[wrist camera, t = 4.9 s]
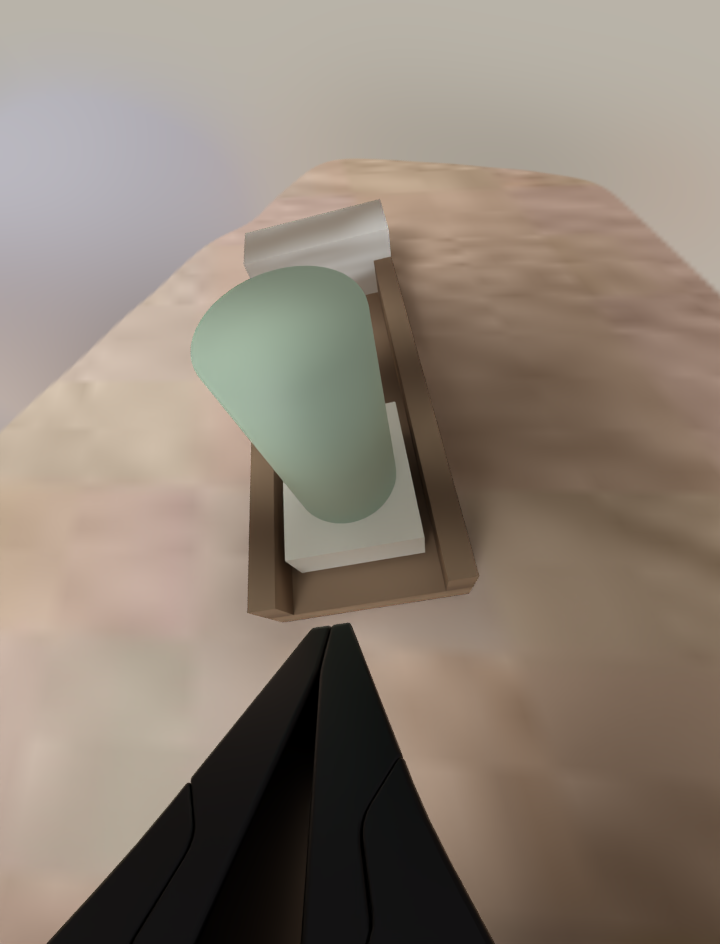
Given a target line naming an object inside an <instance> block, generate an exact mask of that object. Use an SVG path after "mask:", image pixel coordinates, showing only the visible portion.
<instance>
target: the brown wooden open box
mask: <svg viewBox="0 0 720 944" xmlns="http://www.w3.org/2000/svg"><path fill="white" fill-rule="evenodd" d="M244 266H245V269H246V271H247V273H248V275H249V277H250V279H251V278H253V277H255V276H257V275H260V274H263V273H265V272H269V271H272V270H276V269H280V268H285V267H292V266H319V267H325V268H329V269H333V270H336V271H338V272H341V273H343V274H345V275H347V276H348V277H350V278H351V279H352V280H354V281H355V282H356V283H357V284H358V285H359V286H360V288H361V289H362V290H363V292H364V294H365V296H366V298H367V301H368V305H369V311H370V317H371V322H372V328H373V334H374V340H375V346H376V352H377V358H378V364H379V370H380V376H381V382H382V388H383V394H384V400H385V404H386V403H390V402H395V403H396V408H397V412H398V417H399V421H400V426H401V431H402V435H403V440H404V445H405V449H406V454H407V459H408V463H409V468H410V472H411V477H412V482H413V486H414V491H415V496H416V500H417V505H418V510H419V514H420V519H421V523H422V528H423V533H424V538H425V553H419V554H413V555H407V556H401V557H395V558H389V559H383V560H377V561H371V562H365V563H359V564H353V565H347V566H341V567H335V568H329V569H323V570H317V571H311V572H305V573H301V572H300V571H299V570H297V569H296V568H294V567H293V566H291V565H290V564H288V563H287V562H286V561H285V541H284V500H283V480H282V479H281V478H280V477H279V475H278V474H277V473H276V472H275V471H274V469H273V468H272V467H271V466H270V464H269V463H268V462H267V461H266V459H265V458H264V457H263V456H262V454H261V453H260V452H259V451H258V450H257V448H256V447H255V446H254V445H253V443H252V442H251V482H250V524H249V566H248V608H247V613H250V614H253V615H257V616H261V617H265V618H268V619H272V620H276V621H280V622H288V621H294V620H301V619H307V618H313V617H320V616H326V615H333V614H339V613H346V612H352V611H359V610H365V609H372V608H378V607H384V606H391V605H397V604H404V603H410V602H417V601H423V600H430V599H436V598H443V597H449V596H455V595H462V594H468V593H469V592H470V591H471V589H472V587H473V586H474V584H475V582H476V581H477V579H478V577H479V573H478V570H477V566H476V563H475V559H474V555H473V552H472V548H471V544H470V541H469V537H468V534H467V530H466V526H465V523H464V519H463V515H462V512H461V508H460V505H459V501H458V497H457V494H456V490H455V486H454V483H453V479H452V475H451V472H450V468H449V465H448V461H447V457H446V454H445V450H444V446H443V443H442V439H441V436H440V432H439V428H438V425H437V421H436V417H435V414H434V410H433V407H432V403H431V399H430V396H429V392H428V388H427V385H426V381H425V378H424V374H423V370H422V367H421V363H420V359H419V356H418V352H417V349H416V345H415V341H414V338H413V334H412V330H411V327H410V323H409V320H408V316H407V312H406V309H405V305H404V301H403V298H402V294H401V291H400V287H399V283H398V280H397V276H396V272H395V269H394V265H393V262H392V258H391V250H390V239H389V229H388V225H387V222H386V218H385V215H384V211H383V208H382V204H381V201H380V199H379V200H375V201H371V202H367V203H363V204H359V205H355V206H351V207H347V208H343V209H339V210H335V211H332V212H328V213H324V214H320V215H316V216H312V217H308V218H304V219H300V220H296V221H292V222H288V223H285V224H281V225H277V226H273V227H269V228H265V229H261V230H257V231H253V232H249V233H245V246H244Z"/></svg>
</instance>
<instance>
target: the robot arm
mask: <svg viewBox="0 0 720 944" xmlns="http://www.w3.org/2000/svg"><path fill="white" fill-rule="evenodd" d="M47 944H495V943H494V941H493V939H492V937H491V935H490V934H489V932H488V930H487V928H486V926H485V924H484V922H483V921H482V919H481V917H480V915H479V913H478V911H477V910H476V908H475V906H474V904H473V902H472V900H471V898H470V897H469V895H468V893H467V891H466V889H465V887H464V885H463V884H462V882H461V880H460V878H459V876H458V874H457V873H456V871H455V869H454V867H453V865H452V863H451V861H450V859H449V857H448V855H447V853H446V851H445V849H444V847H443V846H442V844H441V842H440V840H439V838H438V836H437V834H436V832H435V830H434V828H433V826H432V824H431V822H430V820H429V818H428V815H427V813H426V811H425V808H424V806H423V804H422V801H421V799H420V797H419V794H418V792H417V790H416V788H415V785H414V783H413V780H412V778H411V775H410V773H409V770H408V768H407V765H406V762H405V760H404V759H403V756H402V753H401V750H400V748H399V745H398V743H397V740H396V738H395V735H394V732H393V730H392V727H391V725H390V722H389V720H388V717H387V715H386V712H385V709H384V707H383V704H382V702H381V699H380V697H379V694H378V692H377V689H376V687H375V684H374V681H373V679H372V676H371V674H370V671H369V669H368V666H367V664H366V661H365V658H364V656H363V653H362V651H361V648H360V646H359V643H358V641H357V638H356V635H355V633H354V630H353V628H352V625H351V624H350V623H343V624H336V625H333V626H332V627H330V626H323V627H316V628H313V629H312V630H310V632H309V633H308V634H307V635H306V637H305V638H304V639H303V640H302V641H301V643H300V644H299V645H298V646H297V648H296V649H295V650H294V651H293V653H292V654H291V655H290V656H289V658H288V659H287V660H286V661H285V663H284V664H283V665H282V666H281V667H280V669H279V670H278V671H277V672H276V674H275V675H274V676H273V677H272V679H271V680H270V681H269V682H268V684H267V685H266V686H265V687H264V688H263V690H262V691H261V692H260V693H259V695H258V696H257V697H256V698H255V700H254V701H253V702H252V703H251V705H250V706H249V707H248V708H247V709H246V711H245V712H244V713H243V714H242V716H241V717H240V718H239V719H238V721H237V722H236V723H235V724H234V726H233V727H232V728H231V729H230V730H229V732H228V733H227V734H226V735H225V737H224V738H223V739H222V740H221V742H220V743H219V744H218V745H217V747H216V748H215V749H214V750H213V752H212V753H211V754H210V755H209V756H208V758H207V759H206V760H205V761H204V763H203V764H202V765H201V766H200V768H199V769H198V770H197V771H196V773H195V774H194V775H193V776H192V778H191V783H187V784H186V785H185V786H184V787H183V788H182V790H181V791H180V792H179V793H178V795H177V796H176V797H175V798H174V799H173V801H172V802H171V803H170V804H169V806H168V807H167V808H166V809H165V810H164V812H163V813H162V814H161V815H160V816H159V818H158V819H157V820H156V821H155V822H154V824H153V825H152V826H151V827H150V828H149V830H148V831H147V832H146V833H145V834H144V835H143V837H142V838H141V839H140V840H139V841H138V843H137V844H136V845H135V846H134V847H133V848H132V850H131V851H130V852H129V853H128V854H127V855H126V856H125V857H124V859H123V860H122V861H121V862H120V863H119V864H118V865H117V866H116V868H115V869H114V870H113V871H112V872H111V873H110V874H109V875H108V877H107V878H106V879H105V880H104V881H103V882H102V883H101V884H100V885H99V887H98V888H97V889H96V890H95V891H94V892H93V893H92V894H91V895H90V897H89V898H88V899H87V900H86V901H85V902H84V903H83V904H82V905H81V906H80V907H79V909H78V910H77V911H76V912H75V913H74V914H73V915H72V916H71V917H70V918H69V920H68V921H67V922H66V923H65V924H64V925H63V926H62V927H61V928H60V929H59V930H58V932H57V933H56V934H55V935H54V936H53V937H52V938H51V939H50V940H49V941H48V942H47Z"/></svg>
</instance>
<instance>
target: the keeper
mask: <svg viewBox="0 0 720 944" xmlns="http://www.w3.org/2000/svg"><path fill="white" fill-rule="evenodd" d="M191 360H192V364H193V367H194V370H195V371H196V373H197V375H198V377H199V378H200V379H201V380H202V382H203V383H204V384H205V385H206V386H207V388H208V389H209V390H210V391H211V393H212V394H213V395H214V396H215V398H216V399H217V400H218V401H219V403H220V404H221V405H222V406H223V408H224V409H225V410H226V411H227V412H228V414H229V415H230V416H231V417H232V419H233V420H234V421H235V422H236V424H237V425H238V426H239V427H240V429H241V430H242V431H243V432H244V433H245V435H246V436H247V437H248V438H249V440H250V441H251V442H252V443H253V445H254V446H255V447H256V448H257V450H258V451H259V452H260V453H261V454H262V456H263V457H264V458H265V459H266V461H267V462H268V463H269V464H270V466H271V467H272V468H273V469H274V471H275V472H276V473H277V474H278V475H279V477H280V478H281V479H282V480H283V500H284V541H285V561H286V562H287V563H288V564H290V565H291V566H293V567H294V568H296V569H297V570H299V571H300V572H301V573H305V572H311V571H317V570H323V569H329V568H335V567H341V566H347V565H353V564H359V563H365V562H371V561H377V560H383V559H389V558H395V557H401V556H407V555H413V554H419V553H425V538H424V533H423V528H422V523H421V519H420V514H419V510H418V505H417V500H416V496H415V491H414V486H413V482H412V477H411V472H410V468H409V463H408V459H407V454H406V449H405V445H404V440H403V435H402V431H401V426H400V421H399V417H398V412H397V408H396V403H395V402H390V403H386V404H385V400H384V394H383V388H382V382H381V376H380V370H379V364H378V358H377V352H376V346H375V340H374V334H373V328H372V322H371V317H370V311H369V305H368V301H367V298H366V296H365V294H364V292H363V290H362V289H361V288H360V286H359V285H358V284H357V283H356V282H355V281H354V280H352V279H351V278H350V277H348V276H347V275H345V274H343V273H341V272H338V271H336V270H333V269H329V268H325V267H319V266H292V267H285V268H280V269H276V270H272V271H269V272H265V273H263V274H260V275H257V276H255V277H253V278H251V279H248V280H246V281H244V282H243V283H241V284H239V285H237V286H236V287H234V288H233V289H231V290H230V291H228V292H227V293H226V294H224V295H223V296H222V297H221V298H220V299H218V300H217V301H216V302H215V303H214V304H213V305H212V306H211V307H210V309H209V310H208V311H207V312H206V313H205V315H204V316H203V318H202V319H201V320H200V322H199V324H198V326H197V328H196V330H195V333H194V335H193V339H192V343H191Z"/></svg>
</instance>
